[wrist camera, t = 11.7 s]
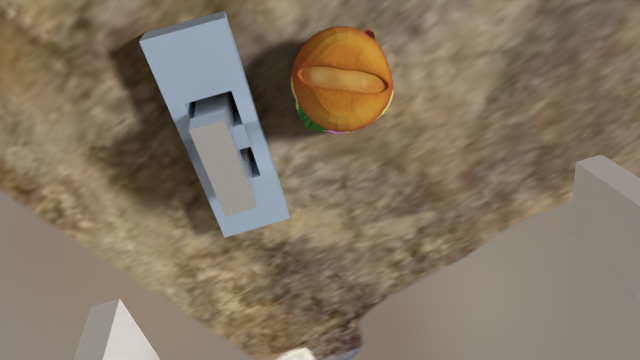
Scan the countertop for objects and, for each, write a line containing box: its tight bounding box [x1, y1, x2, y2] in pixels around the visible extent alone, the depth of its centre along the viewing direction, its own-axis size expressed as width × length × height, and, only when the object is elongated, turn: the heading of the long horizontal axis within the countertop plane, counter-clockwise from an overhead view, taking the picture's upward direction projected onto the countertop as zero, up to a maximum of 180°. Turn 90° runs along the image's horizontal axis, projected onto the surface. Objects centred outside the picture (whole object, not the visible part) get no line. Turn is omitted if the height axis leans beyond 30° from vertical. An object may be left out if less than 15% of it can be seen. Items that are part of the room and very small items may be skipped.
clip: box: [189, 92, 257, 217], centre depth 43 cm, size 9×3×10 cm, turn 13°
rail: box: [139, 11, 290, 237], centre depth 45 cm, size 22×8×4 cm, turn 13°
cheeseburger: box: [291, 26, 393, 134], centre depth 43 cm, size 10×11×10 cm
